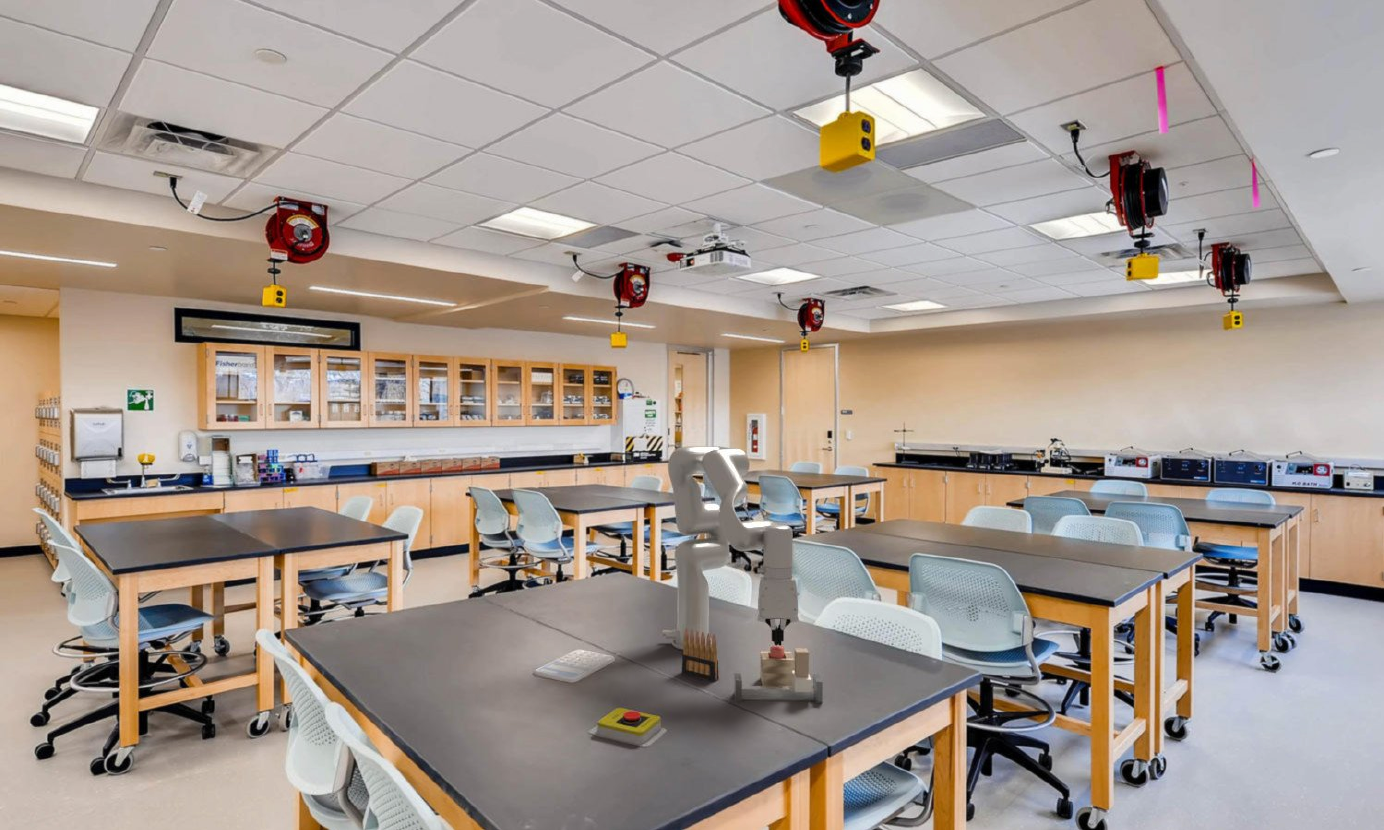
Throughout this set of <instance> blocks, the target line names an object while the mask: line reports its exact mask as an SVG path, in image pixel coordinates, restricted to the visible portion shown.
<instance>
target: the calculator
mask: <svg viewBox="0 0 1384 830" xmlns="http://www.w3.org/2000/svg"><path fill="white" fill-rule="evenodd" d="M615 661H616V658H615V656H613V655H611V654H607V653H605V654H604V653H600V652H595V651H594V652H593V651H589V650H584V649H580V648H579V649H576V650H573V651H571V652H569V653H567V654H565V655H564V656H561V657H558V658H557V659H555V660H553V661H551V662H548V663H546V664H544V665H542V666H541V667H538V668H536V669H535V671H534V675H535V676H539V677H541V678H547V679H552V680H557V681H560V682H566V683H570V684H571V683H573V684H575V683H577V682H579V681H580V680H583V679H584V678H586V677H588V676H590V675H592V674H593V673H596V672H597V671H599V670H600V669H603V668H604V667H606V666H608V665H609V664H611V663H613V662H615Z"/></svg>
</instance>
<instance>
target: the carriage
mask: <svg viewBox="0 0 1384 830" xmlns="http://www.w3.org/2000/svg"><path fill="white" fill-rule="evenodd" d="M809 662H810V652H809V650H808V648H806V647H805V648H803V647H802V648H798V647H796V648H794V671H792V685H793V688H794V691H795V692H812V687H813V678H811V677H812V676H811V675H810V673H809V672H810V671H809V670H810V666H809V665H810V663H809Z"/></svg>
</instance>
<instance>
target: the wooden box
mask: <svg viewBox="0 0 1384 830" xmlns="http://www.w3.org/2000/svg"><path fill="white" fill-rule="evenodd" d="M792 671H795V657H794V655H793V653H792V651H784V659H771V658H770V651H760V683H761V686H793V685H792Z"/></svg>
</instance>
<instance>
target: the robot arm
mask: <svg viewBox="0 0 1384 830" xmlns="http://www.w3.org/2000/svg"><path fill="white" fill-rule="evenodd" d="M750 463H751V462H750V459H749V457H748V455H747V454H746V452H745V451H744V450H742V449H740V448H735V447H733V448H732V447H725V446H720V445H719V446H714V445H712V446H710V445H704V446H701V445H700V446H698V445H696V446H694V445H693V446H692V445H691V446H682V447H679V448H676V449H675V450H673V451H672V452H671V454H670V456H669V458H668V463H667V470H668V473H667V474H668V477H669V480H670V483H671V484H670V485H671V487H672V491H673V501H674V511H675V512H674V513H675V522H676V527H677V530H678V532H679V533H680V534H681V535H683V536H697V535H705V537H706V538H696V539H689V540H684V541H682V542H680V543H679V544H678V545H677V546H676V547H675V550H674V562H675V563H674V564H675V569H676V576H677V577H676V579H677V610H676V611H677V612H676V613H677V615H676V616H677V617H676V618H677V623H676V624H677V625H676V629H675V628H674V629H672V630H668V629H663V630H662V637H663V638H665V639H672V640H671V645H672V647H674V648H676V649H678V650H682V651H683V644H684V635H685V630H686V628H687V630H688V634H689V643H690V633H691V630H693V632H694V644H695V637H696V632H697V631H698V632H699V636H700V645H701V635H702V632H704V635H705V646H706V639H707V635H708V633H709V634H710V630H709V627H710V625H709V623H710V621H709V620H710V618H709V617H710V616H709V615H710V611H709V610H710V602H709V601H710V587H709V586H710V585H709V583H708V582H709V581H708V580H707V579H706V576H705V575H704V571H710V570H716V569H721V568H724V567H725V566H726V565H727V564H728V562H729V558H730V546H731V547H732V548H733V549H734V550H736V551H739V552H747V551H755V550H756V551H757V550H763V551H762V552H763V556H762V559H763V560H762V561H763V563H762V564H763V565H762V567H760V568H757V574H760V575H762V576H761V577H760V581H759V587H758V594H757V595H758V598H757V610H758V611H757V616H756V620H757V622H760V623H765V624H767V626H769V627H770V628H771V642H773V643H774V646H782V642H784V640H785V639H784V637H785V629H786V628H787V626H789V625H790V624H791V623H795V622H798V621H799V596H798V595H799V594H798V585H797V581H796V578H795V577H793V536H794V535H793V529H792V527H791V526H789V525H786V524H780V523H779V524H778V523H776V522H773V521H771V520H765V519H764V520H753V521H743V522H742V521H741V519H740V517H739V516H738V514H737V512H736V509H735V506H736V505H738V504H739V503H741V502H742V501H743V500H744V499H745V498H746V497H747V495H748V493H749V485H748V484H747V483H746V481H745V480H744V478H743V477H744V476H746V475H747V473H748V472H749V470H750V466H751V465H750ZM705 474H706V476H707V477H708V479H709V482H710V483H711V484H712V487H713V488H714V490H715V492H716V493H717V496H718V497H719V500H720V501H721V502H720V505H719V504H718V503H716V502H703V498H702V490H701V487H700V485H699V482H698V481H697V480H696V479H695V477H693V475H705ZM729 544H730V545H729ZM776 620H779V624H778V626H777V624H776ZM711 648H712V638H711Z"/></svg>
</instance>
